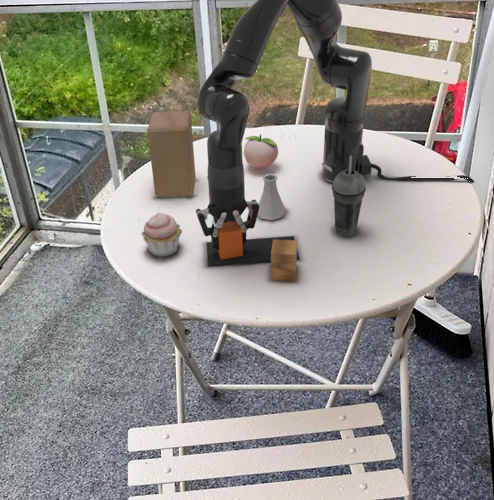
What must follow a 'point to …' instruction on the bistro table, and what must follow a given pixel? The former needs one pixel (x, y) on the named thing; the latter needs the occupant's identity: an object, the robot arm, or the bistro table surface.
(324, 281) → the bistro table surface
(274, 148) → the decorative fruit
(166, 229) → the cupcake
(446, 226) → the bistro table surface
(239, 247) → the orange block
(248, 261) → the mat
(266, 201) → the flask
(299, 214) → the bistro table surface
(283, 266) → the oak block
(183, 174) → the wooden block
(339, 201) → the beverage cup
